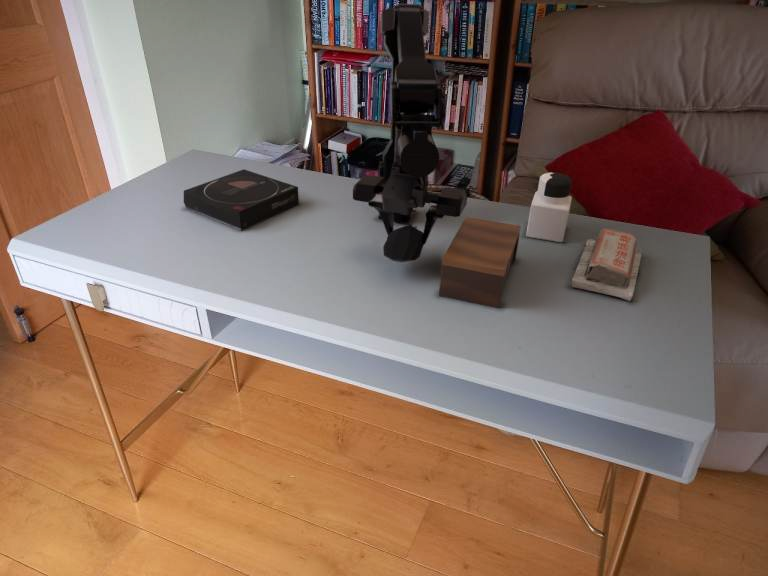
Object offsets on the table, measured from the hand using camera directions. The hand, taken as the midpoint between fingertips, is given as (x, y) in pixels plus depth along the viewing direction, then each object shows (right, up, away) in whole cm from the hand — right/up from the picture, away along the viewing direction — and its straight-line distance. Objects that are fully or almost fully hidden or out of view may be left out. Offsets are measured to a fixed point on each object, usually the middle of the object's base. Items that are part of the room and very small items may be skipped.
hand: (407, 240), depth 104 cm
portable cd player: (-34, +9, +21) cm, 41 cm away
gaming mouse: (0, -1, +1) cm, 1 cm away
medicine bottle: (+28, +2, +14) cm, 32 cm away
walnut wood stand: (+12, -7, -2) cm, 14 cm away
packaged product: (+36, -6, +1) cm, 36 cm away
